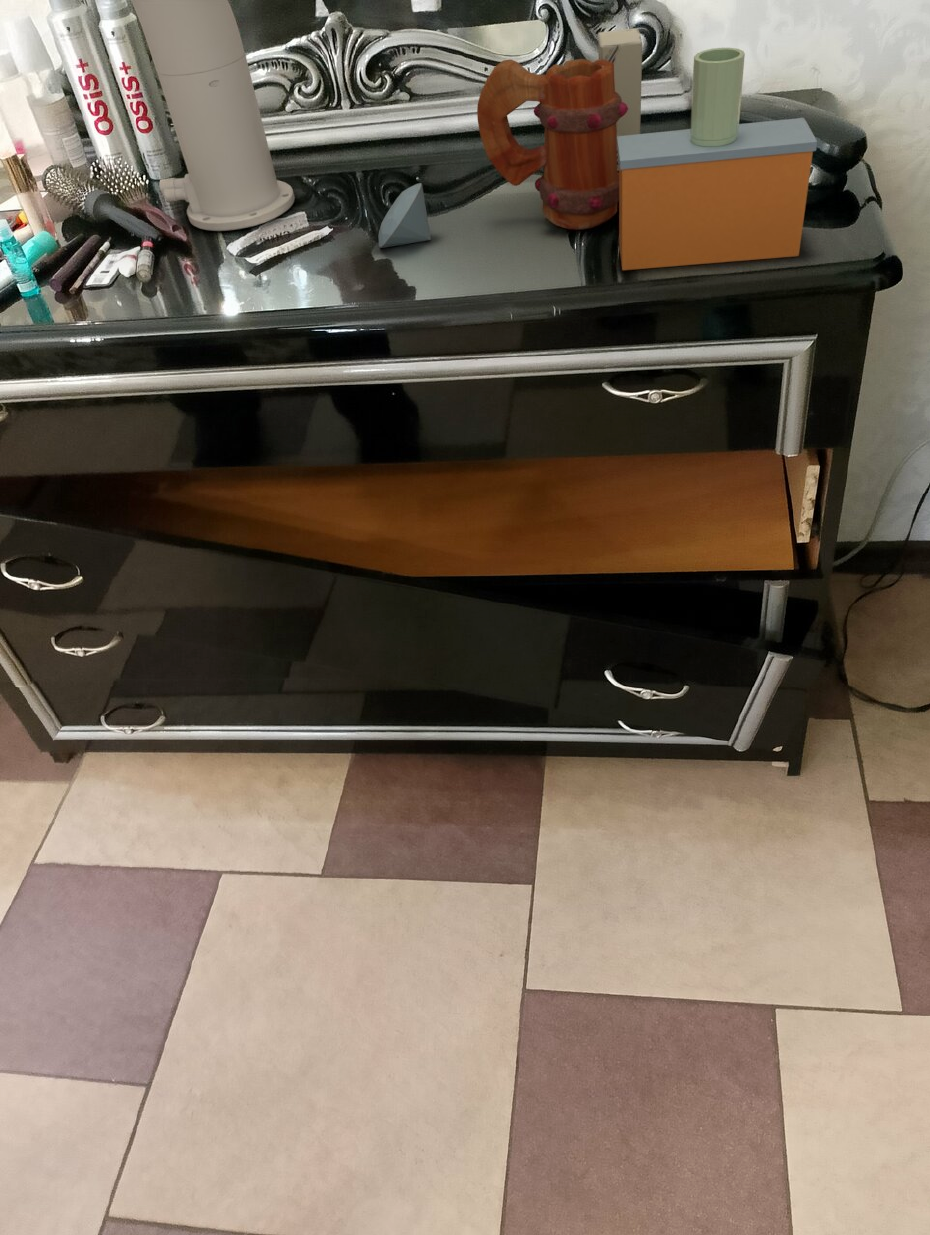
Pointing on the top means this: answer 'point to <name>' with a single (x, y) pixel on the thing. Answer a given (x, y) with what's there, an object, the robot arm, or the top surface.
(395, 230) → the gemstone
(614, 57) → the box
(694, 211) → the container
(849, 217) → the top surface
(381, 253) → the top surface
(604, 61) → the mug
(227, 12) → the robot arm
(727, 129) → the cup
